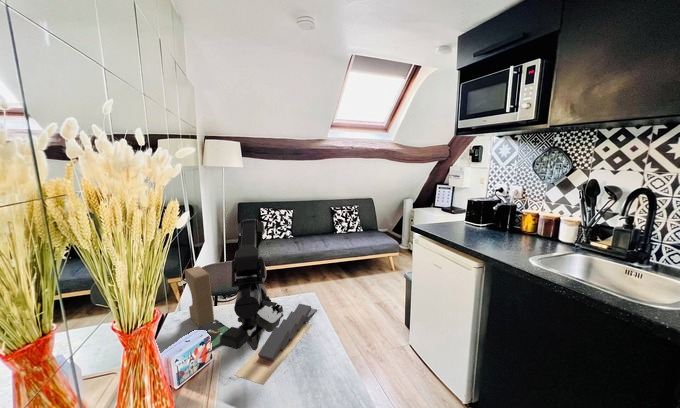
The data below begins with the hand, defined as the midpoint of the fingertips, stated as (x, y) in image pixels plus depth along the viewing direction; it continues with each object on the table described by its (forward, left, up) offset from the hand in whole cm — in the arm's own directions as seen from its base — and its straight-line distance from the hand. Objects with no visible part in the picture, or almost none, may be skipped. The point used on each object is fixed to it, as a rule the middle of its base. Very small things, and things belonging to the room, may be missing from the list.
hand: (254, 349), depth 79 cm
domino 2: (0, +20, -6) cm, 21 cm away
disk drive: (-25, +8, -9) cm, 28 cm away
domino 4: (0, +10, -6) cm, 11 cm away
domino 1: (0, +5, -6) cm, 8 cm away
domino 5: (0, +25, -6) cm, 25 cm away
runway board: (0, +11, -8) cm, 14 cm away
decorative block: (-38, +16, -8) cm, 42 cm away
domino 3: (0, +15, -6) cm, 16 cm away
